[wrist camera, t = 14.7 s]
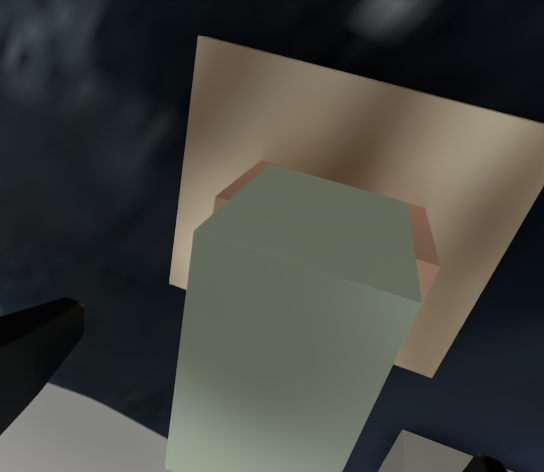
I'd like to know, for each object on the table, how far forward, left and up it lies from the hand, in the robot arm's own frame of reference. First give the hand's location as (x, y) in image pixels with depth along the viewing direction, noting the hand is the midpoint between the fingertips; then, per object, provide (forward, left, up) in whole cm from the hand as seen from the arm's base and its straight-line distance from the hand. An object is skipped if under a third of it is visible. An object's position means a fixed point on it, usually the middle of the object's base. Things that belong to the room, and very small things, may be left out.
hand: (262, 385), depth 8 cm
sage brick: (0, 0, -5) cm, 5 cm away
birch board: (0, 0, -11) cm, 11 cm away
